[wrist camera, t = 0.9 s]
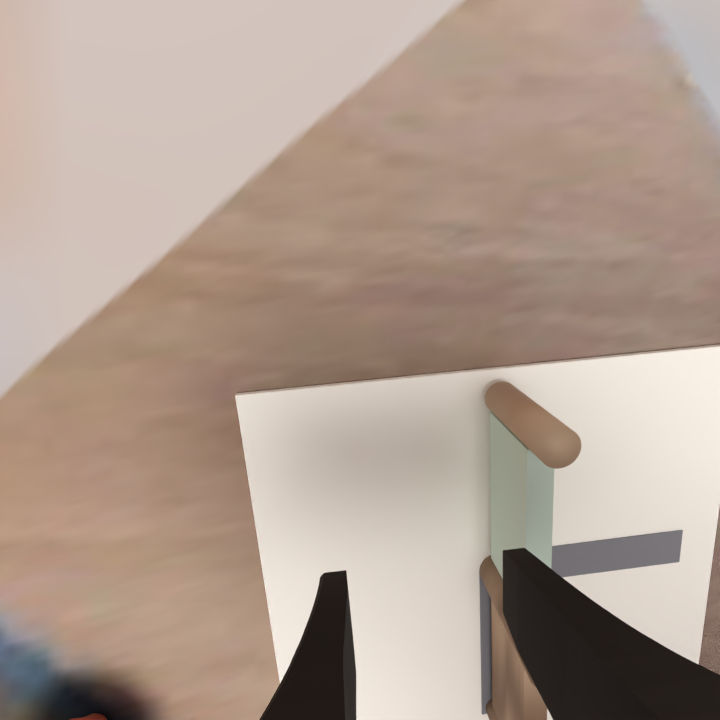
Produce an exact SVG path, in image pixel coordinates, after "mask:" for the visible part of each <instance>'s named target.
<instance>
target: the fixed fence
mask: <svg viewBox="0 0 720 720" xmlns="http://www.w3.org/2000/svg"><path fill="white" fill-rule="evenodd" d="M479 572H480V577H481V579H482V581H483V583H484V585H485V587H486V589H487V591H488V594H489V596H490V598H491V616H492V699H490V700H489V701H488V702H487V704H486V712H487V715H488V717H489V720H547V707H546V705H545V703H544V701H543V699H542V697H541V695H540V693H539V692H538V690H537V688H536V686H535V684H534V682H533V680H532V678H531V676H530V674H529V672H528V670H527V668H526V666H525V664H524V662H523V660H522V658H521V656H520V654H519V652H518V650H517V648H516V645H515V643H514V640H513V638H512V635H511V633H510V630H509V627H508V625H507V622H506V619H505V617H504V614H503V579H502V577H501V575H500V573H499V572H498V570H497V568H496V566H495V564H494V562H493V560H492V559H491V555H490V556H488V557H487V558H486V559H484V561H483V562H482V563H481V565H480V569H479Z"/></svg>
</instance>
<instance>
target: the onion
mask: <svg viewBox="0 0 720 720" xmlns="http://www.w3.org/2000/svg"><path fill="white" fill-rule="evenodd" d="M69 720H107V718H106V717H105V716H104V715H102V714H97V713H93V714H90V715H88V716H85V717H82V718H73V719H69Z"/></svg>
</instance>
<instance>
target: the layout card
mask: <svg viewBox="0 0 720 720" xmlns="http://www.w3.org/2000/svg"><path fill="white" fill-rule="evenodd" d="M501 381H504V382H509V383H511V384H512V385H513V386H515V387H516V388H517V389H519V390H520V391H521V392H523V393H524V394H525V395H527V396H528V397H529V398H531V399H532V400H533V401H535V402H536V403H537V404H539V405H540V406H541V407H543V408H544V409H545V410H547V411H548V412H549V413H551V414H552V415H553V416H555V417H556V418H557V419H559V420H560V421H561V422H562V423H564V424H565V425H566V426H568V427H569V428H570V429H572V430H573V431H574V432H576V433H577V434H578V436H579V437H580V440H581V451H580V454H579V456H578V457H577V459H576V460H575V461H574V462H573V463H572V464H570V465H569V466H567V467H564V468H559V469H555V468H554V497H553V530H552V564H551V569H552V570H553V571H555V572H556V573H557V574H558V575H560V576H561V577H562V578H563V579H565V580H566V581H567V582H569V583H570V584H571V585H573V586H574V587H575V588H577V589H578V590H579V591H581V592H582V593H583V594H585V595H586V596H587V597H589V598H590V599H591V600H593V601H594V602H596V603H597V604H598V605H600V606H601V607H603V608H604V609H606V610H607V611H609V612H610V613H612V614H613V615H615V616H616V617H618V618H619V619H621V620H622V621H623V622H625V623H627V624H628V625H630V626H631V627H633V628H634V629H636V630H638V631H639V632H641V633H643V634H644V635H646V636H648V637H649V638H651V639H653V640H654V641H656V642H658V643H660V644H661V645H663V646H665V647H666V648H668V649H670V650H672V651H674V652H675V653H677V654H679V655H681V656H683V657H685V658H687V659H689V660H691V661H693V662H695V663H696V664H698V665H699V658H700V650H701V642H702V635H703V627H704V620H705V612H706V604H707V597H708V589H709V582H710V574H711V567H712V559H713V551H714V544H715V536H716V529H717V521H718V513H719V506H720V344H718V345H708V346H699V347H689V348H679V349H669V350H659V351H649V352H639V353H629V354H620V355H610V356H600V357H590V358H580V359H570V360H560V361H551V362H541V363H531V364H521V365H511V366H501V367H491V368H481V369H472V370H462V371H452V372H442V373H432V374H422V375H412V376H403V377H393V378H383V379H373V380H363V381H353V382H343V383H333V384H324V385H314V386H304V387H294V388H284V389H274V390H264V391H254V392H245V393H236V395H235V398H236V404H237V410H238V417H239V423H240V430H241V436H242V443H243V449H244V455H245V462H246V468H247V475H248V481H249V488H250V494H251V500H252V507H253V513H254V520H255V526H256V532H257V539H258V545H259V552H260V558H261V565H262V571H263V577H264V584H265V590H266V597H267V603H268V610H269V616H270V622H271V629H272V635H273V642H274V648H275V655H276V661H277V667H278V674H279V680H280V683H281V681H282V679H283V677H284V675H285V673H286V671H287V669H288V667H289V665H290V663H291V660H292V658H293V656H294V654H295V651H296V649H297V647H298V645H299V643H300V640H301V638H302V635H303V633H304V630H305V627H306V625H307V622H308V619H309V617H310V614H311V611H312V608H313V605H314V601H315V598H316V594H317V590H318V586H319V581H320V577H321V575H322V574H323V573H327V572H335V571H343V570H346V573H347V583H348V592H349V602H350V612H351V622H352V632H353V643H354V654H355V665H356V720H489V717H488V715H487V712H486V704H487V702H488V701H489V700H490V699H492V616H491V598H490V596H489V594H488V591H487V589H486V587H485V585H484V583H483V581H482V579H481V577H480V572H479V569H480V565H481V563H482V562H483V561H484V559H486V558H487V557H488V556H490V555H491V506H490V412H492V411H491V410H490V409H489V408H488V407H487V405H486V403H485V395H486V392H487V390H488V389H489V387H490V386H492V385H493V384H495V383H497V382H501ZM547 720H553V718H552V717H551V715H550V713H549V711H548V709H547Z"/></svg>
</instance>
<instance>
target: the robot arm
mask: <svg viewBox="0 0 720 720" xmlns="http://www.w3.org/2000/svg"><path fill="white" fill-rule="evenodd" d="M503 614H504V617H505V619H506V622H507V625H508V627H509V630H510V633H511V635H512V638H513V640H514V643H515V645H516V648H517V650H518V652H519V654H520V656H521V658H522V660H523V662H524V664H525V666H526V668H527V670H528V672H529V674H530V676H531V678H532V680H533V682H534V684H535V686H536V688H537V690H538V692H539V693H540V695H541V697H542V699H543V701H544V703H545V705H546V707H547V709H548V711H549V713H550V715H551V717H552V718H553V720H720V675H718V674H716V673H714V672H712V671H710V670H708V669H706V668H704V667H702V666H700V665H698V664H696V663H695V662H693V661H691V660H689V659H687V658H685V657H683V656H681V655H679V654H677V653H675V652H674V651H672V650H670V649H668V648H666V647H665V646H663V645H661V644H660V643H658V642H656V641H654V640H653V639H651V638H649V637H648V636H646V635H644V634H643V633H641V632H639V631H638V630H636V629H634V628H633V627H631V626H630V625H628V624H627V623H625V622H623V621H622V620H621V619H619V618H618V617H616V616H615V615H613V614H612V613H610V612H609V611H607V610H606V609H604V608H603V607H601V606H600V605H598V604H597V603H596V602H594V601H593V600H591V599H590V598H589V597H587V596H586V595H585V594H583V593H582V592H581V591H579V590H578V589H577V588H575V587H574V586H573V585H571V584H570V583H569V582H567V581H566V580H565V579H563V578H562V577H561V576H560V575H558V574H557V573H556V572H555V571H553V570H552V569H551V568H550V567H548V566H547V565H546V564H544V563H543V562H542V561H541V560H539V559H538V558H537V557H536V556H534V555H533V554H532V553H531V552H529V551H528V550H527V549H525V548H517V549H509V550H503ZM260 720H356V665H355V654H354V643H353V632H352V622H351V612H350V602H349V592H348V583H347V573H346V570H343V571H335V572H327V573H323V574H322V575H321V577H320V581H319V586H318V590H317V594H316V598H315V601H314V605H313V608H312V611H311V614H310V617H309V619H308V622H307V625H306V627H305V630H304V633H303V635H302V638H301V640H300V643H299V645H298V647H297V649H296V651H295V654H294V656H293V658H292V660H291V663H290V665H289V667H288V669H287V671H286V673H285V675H284V677H283V679H282V681H281V683H280V685H279V687H278V689H277V690H276V692H275V694H274V696H273V698H272V699H271V701H270V703H269V705H268V706H267V708H266V710H265V711H264V713H263V715H262V716H261V718H260Z"/></svg>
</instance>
